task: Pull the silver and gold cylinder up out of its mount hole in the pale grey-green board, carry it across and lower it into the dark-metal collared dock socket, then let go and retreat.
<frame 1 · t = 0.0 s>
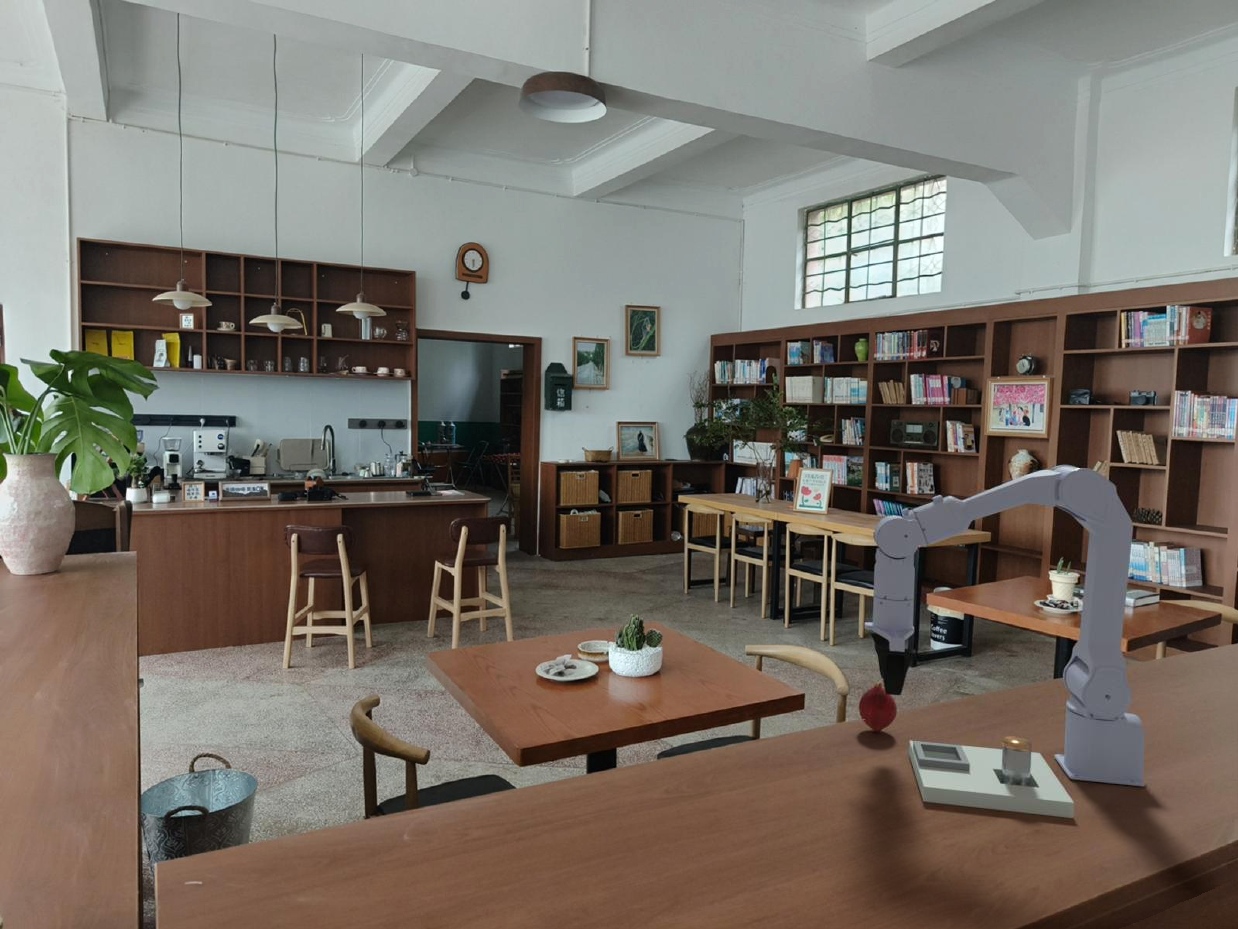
hand: (890, 685, 124), 10 cm above the table, fingers open, 7 cm apart
onion: (876, 732, 133), on the table
silver and gold cylinder: (1014, 792, 112), resting in board
board: (984, 783, 115), on the table
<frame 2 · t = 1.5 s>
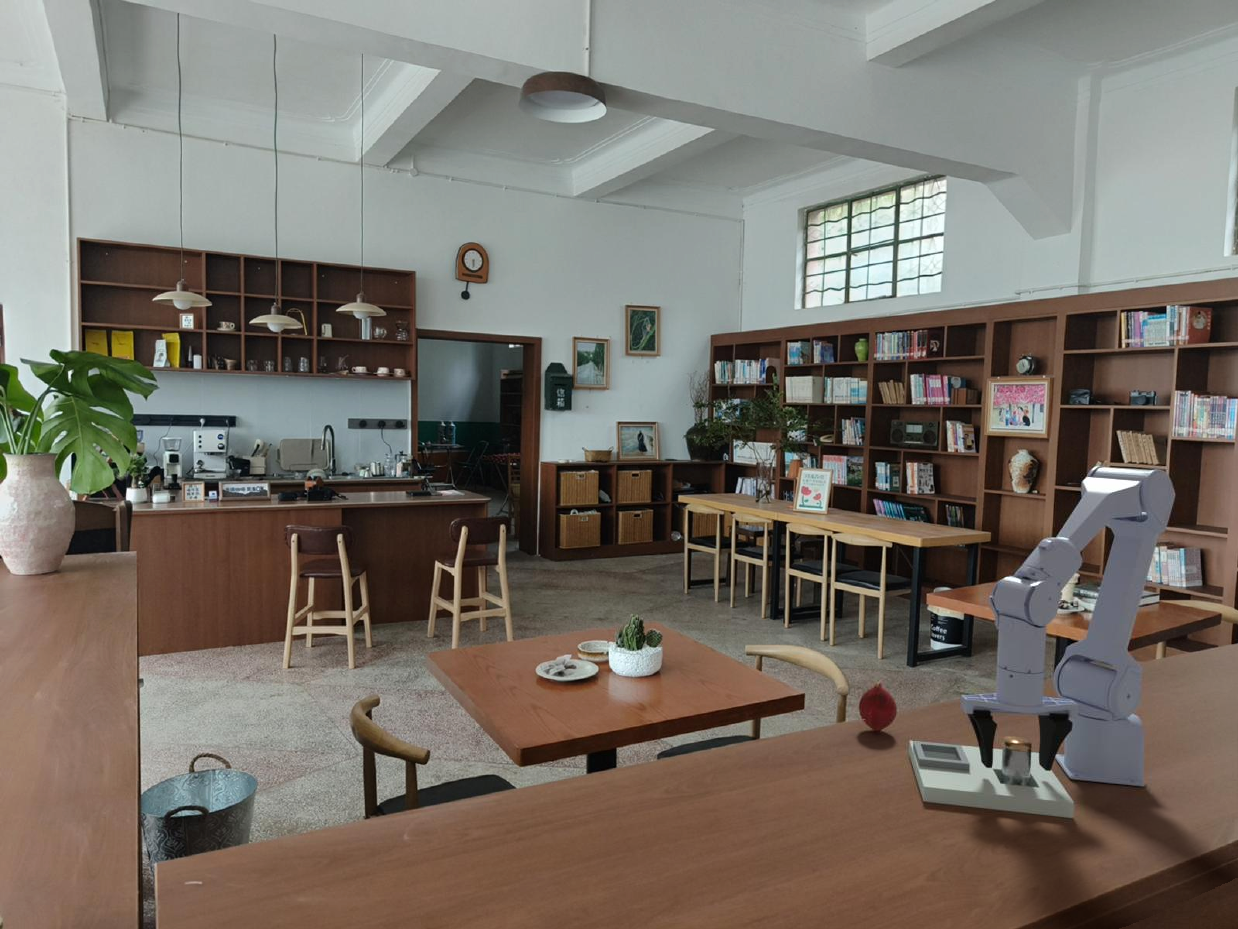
hand: (1015, 766, 112), 4 cm above the table, fingers open, 7 cm apart
nothing on the table moved.
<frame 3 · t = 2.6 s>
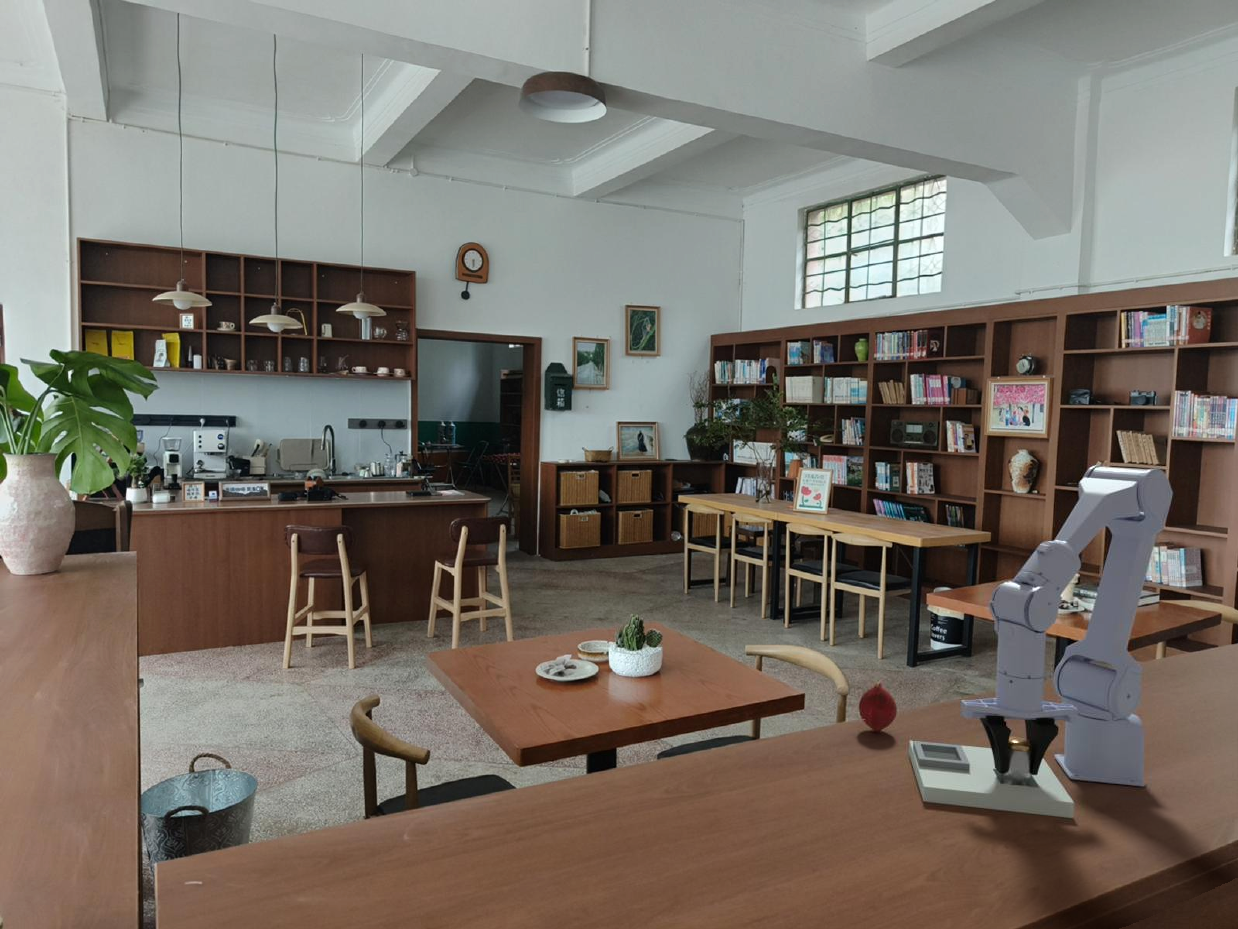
hand: (1015, 771, 112), 3 cm above the table, fingers closed on silver and gold cylinder, 3 cm apart
silver and gold cylinder: (1014, 792, 112), resting in board, touching gripper
everything else where it was.
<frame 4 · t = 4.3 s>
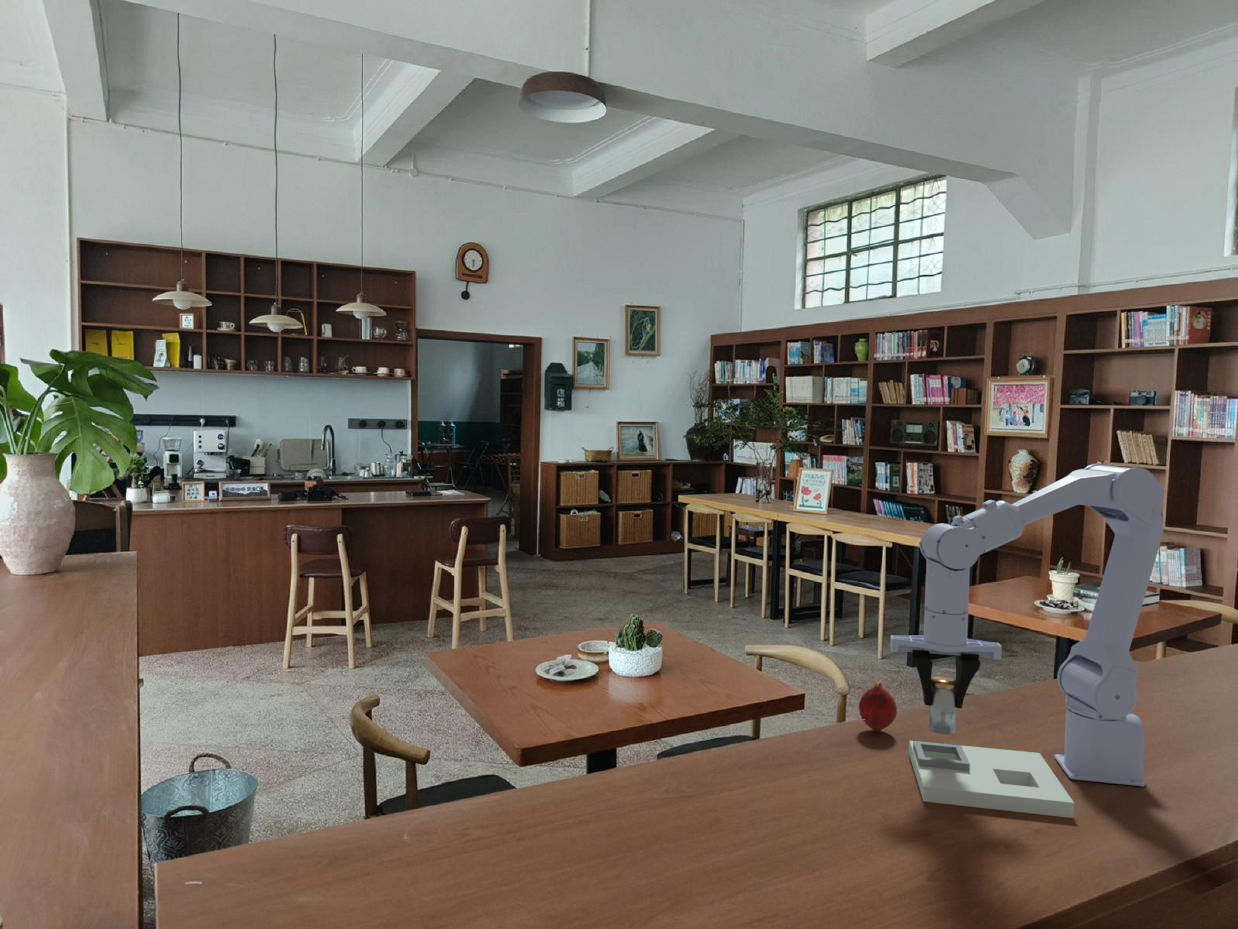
hand: (942, 704, 117), 10 cm above the table, fingers closed on silver and gold cylinder, 3 cm apart
silver and gold cylinder: (941, 729, 117), point 6 cm above the table, touching gripper
everything else where it was.
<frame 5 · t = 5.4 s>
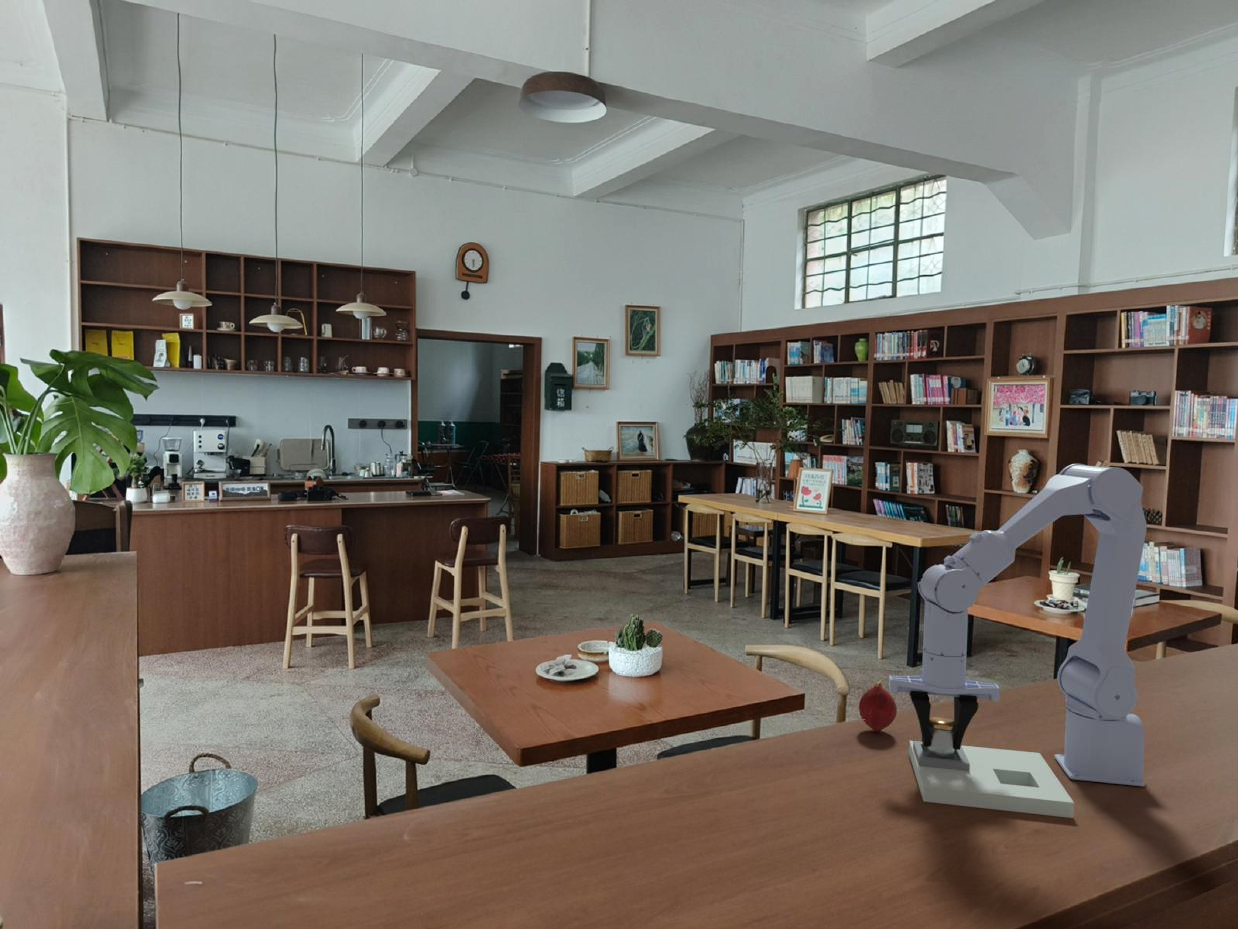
hand: (940, 745, 117), 4 cm above the table, fingers closed on silver and gold cylinder, 3 cm apart
silver and gold cylinder: (940, 770, 117), resting in board, touching gripper
everything else where it was.
when the fingers open (4 cm above the table, at t = 6.2 s): silver and gold cylinder stays where it is, resting in board.
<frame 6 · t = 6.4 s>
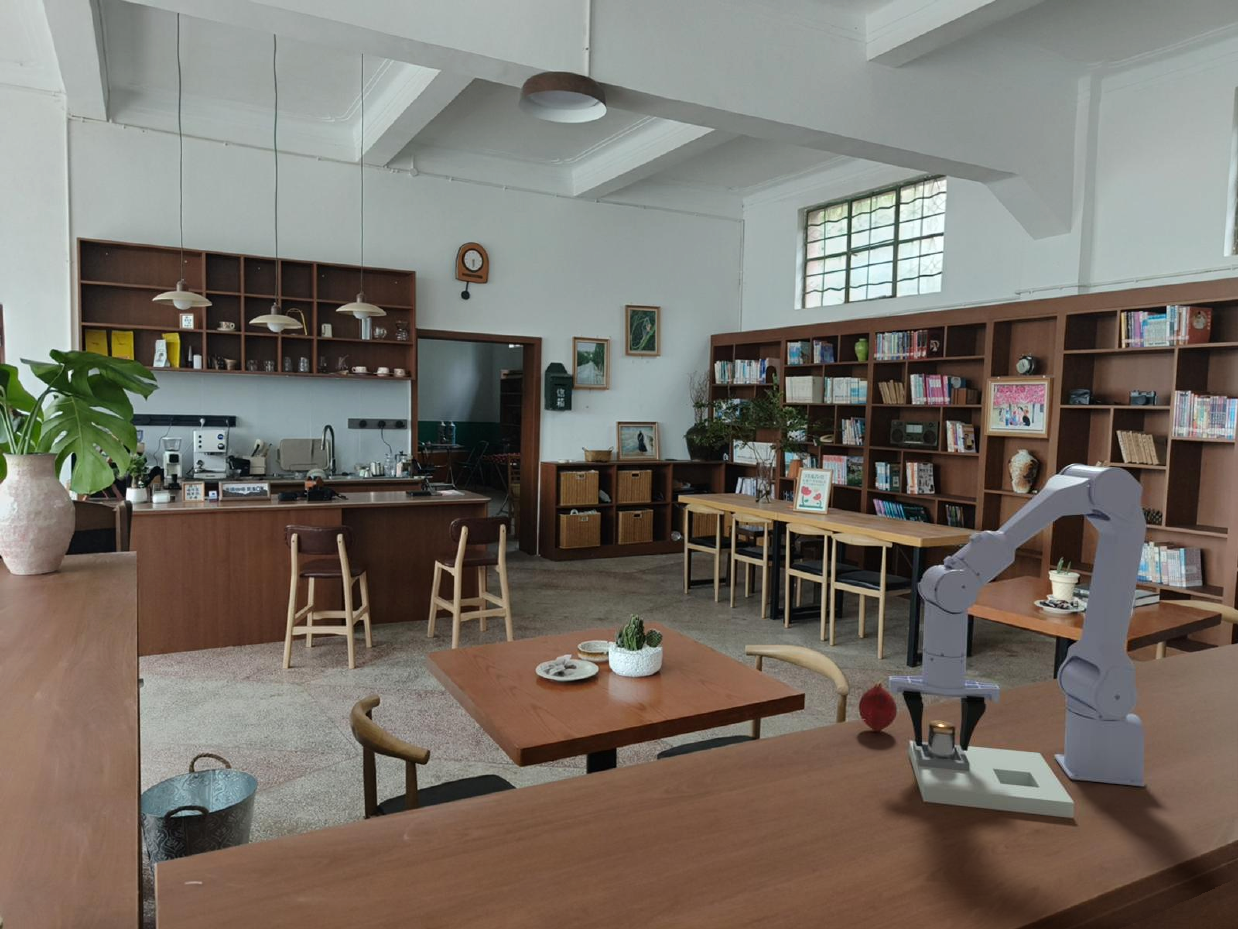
hand: (940, 746, 117), 4 cm above the table, fingers open, 5 cm apart
silver and gold cylinder: (940, 773, 117), resting in board
everything else where it was.
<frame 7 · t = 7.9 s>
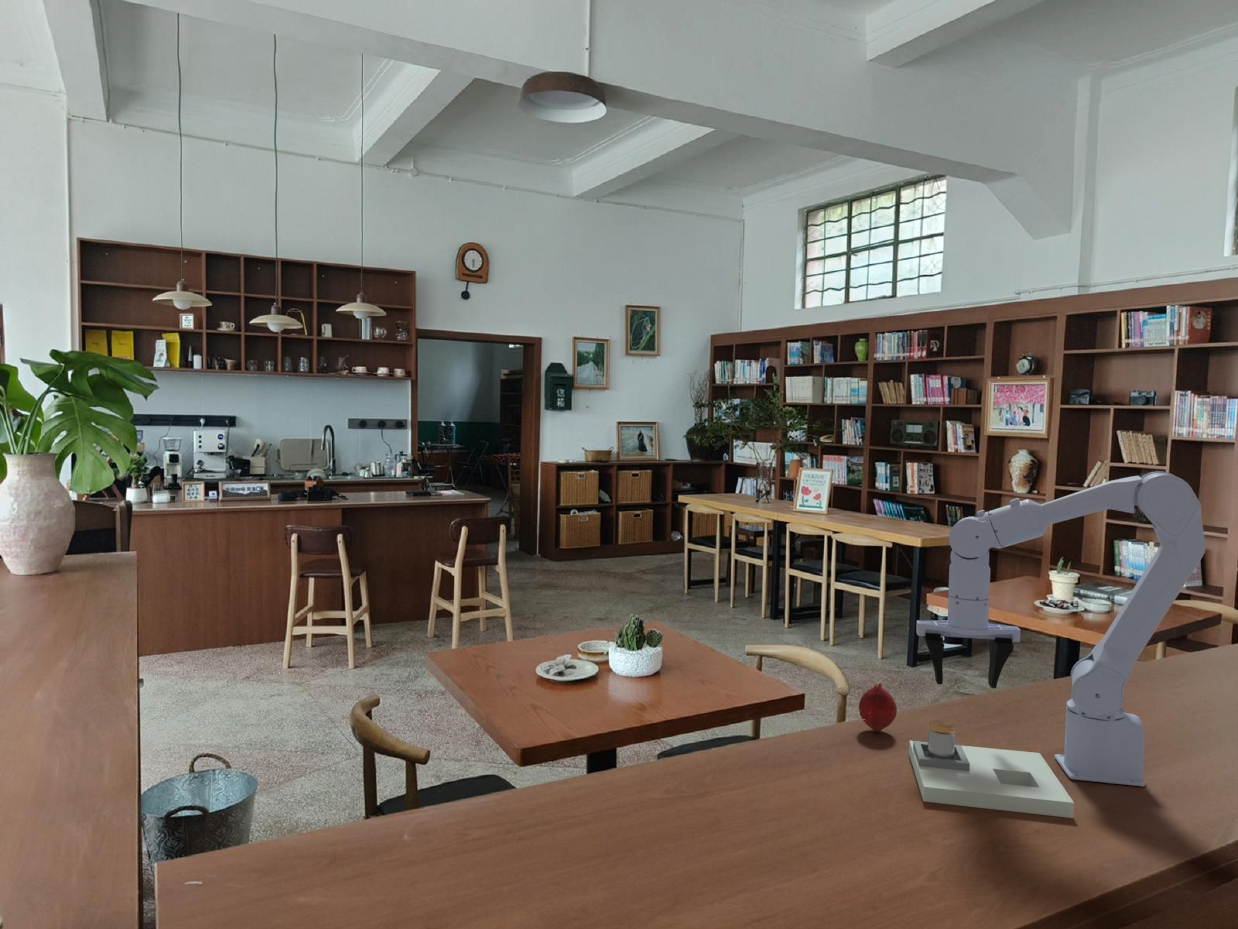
hand: (965, 684, 126), 10 cm above the table, fingers open, 7 cm apart
nothing on the table moved.
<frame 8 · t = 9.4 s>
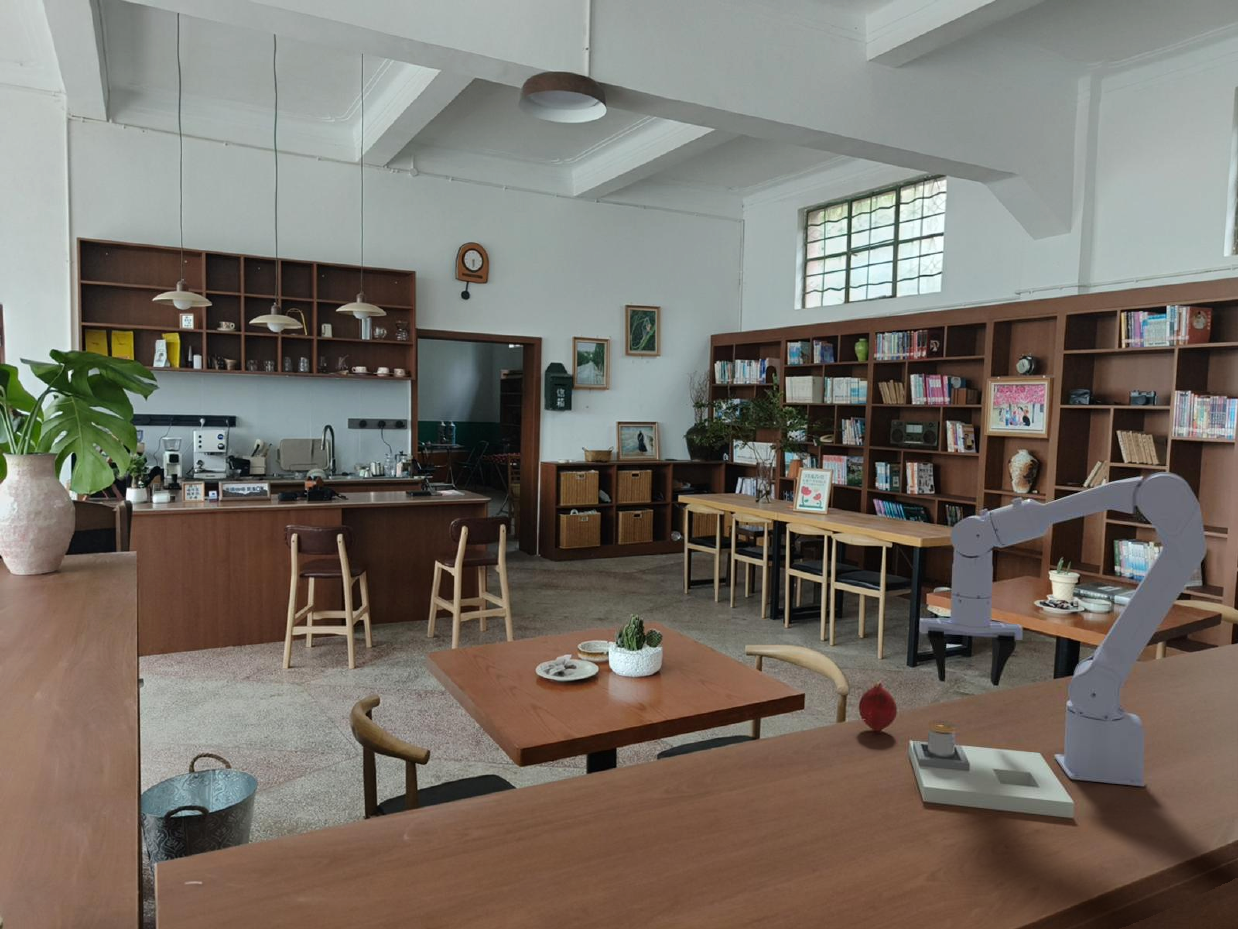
hand: (967, 681, 128), 10 cm above the table, fingers open, 7 cm apart
nothing on the table moved.
at the end: silver and gold cylinder 0.3 cm from the target spot on the board, point 0.0 cm above the board's base; silver and gold cylinder tilted 0°; the gripper is holding nothing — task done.
